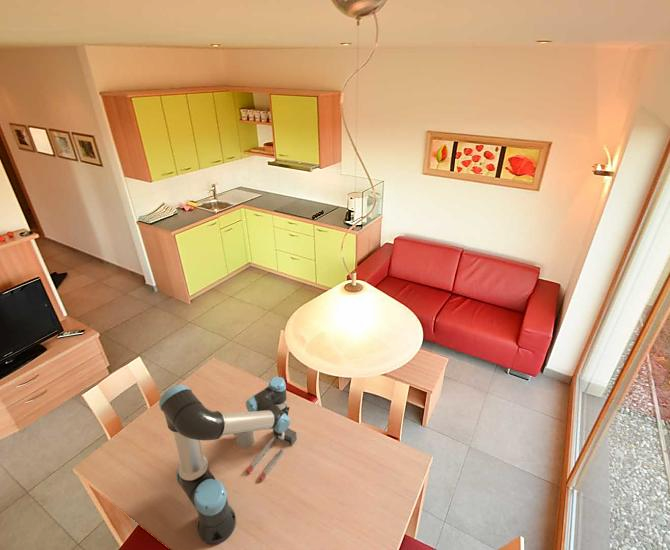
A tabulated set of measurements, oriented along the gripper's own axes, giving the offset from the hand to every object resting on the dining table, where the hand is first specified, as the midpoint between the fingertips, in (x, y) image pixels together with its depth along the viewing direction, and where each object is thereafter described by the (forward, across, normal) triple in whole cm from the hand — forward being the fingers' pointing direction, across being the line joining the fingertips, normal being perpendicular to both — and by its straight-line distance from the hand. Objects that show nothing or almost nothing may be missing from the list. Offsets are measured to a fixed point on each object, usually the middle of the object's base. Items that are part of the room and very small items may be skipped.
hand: (281, 437), depth 196 cm
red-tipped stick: (+3, -13, -4) cm, 14 cm away
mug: (+4, -9, +18) cm, 20 cm away
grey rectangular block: (+3, +3, 0) cm, 4 cm away
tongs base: (+3, -8, 0) cm, 9 cm away
